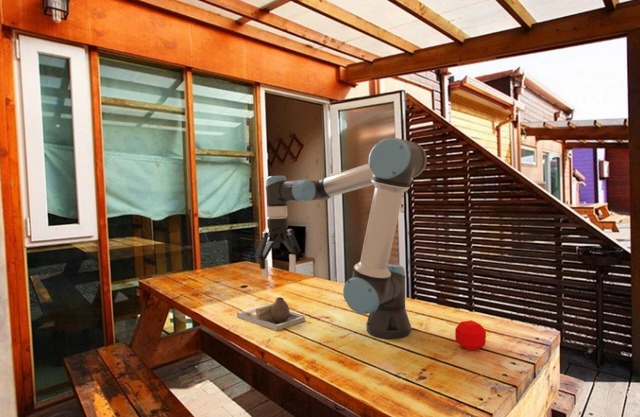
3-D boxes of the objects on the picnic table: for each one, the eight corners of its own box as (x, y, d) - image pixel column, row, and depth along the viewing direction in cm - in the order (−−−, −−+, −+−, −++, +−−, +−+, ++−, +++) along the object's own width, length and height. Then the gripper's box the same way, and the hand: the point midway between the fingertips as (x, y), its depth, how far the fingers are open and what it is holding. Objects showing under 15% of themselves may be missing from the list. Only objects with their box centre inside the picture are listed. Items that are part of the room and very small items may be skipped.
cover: (284, 311, 155) (284, 301, 155) (259, 319, 146) (258, 309, 146) (266, 306, 163) (266, 297, 163) (241, 313, 154) (241, 303, 154)
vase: (291, 318, 150) (291, 296, 150) (286, 324, 144) (285, 301, 143) (274, 317, 152) (273, 295, 151) (268, 323, 145) (267, 300, 145)
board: (304, 320, 149) (304, 315, 148) (276, 330, 138) (276, 325, 138) (264, 308, 165) (264, 304, 165) (236, 316, 155) (236, 312, 155)
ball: (490, 350, 117) (490, 325, 117) (467, 354, 115) (467, 328, 115) (473, 341, 125) (473, 317, 125) (451, 344, 123) (451, 320, 123)
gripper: (295, 215, 158) (296, 268, 158) (243, 219, 139) (245, 279, 140) (308, 215, 152) (310, 270, 153) (256, 220, 134) (258, 282, 135)
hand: (279, 274), depth 147 cm, fingers open, 13 cm apart
